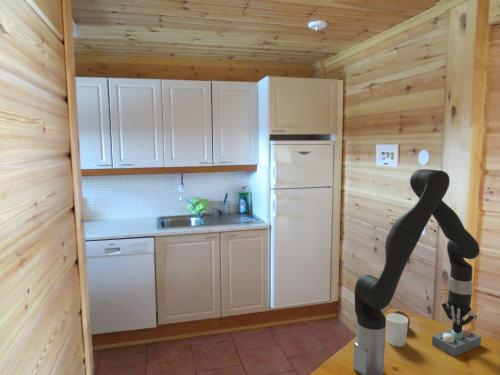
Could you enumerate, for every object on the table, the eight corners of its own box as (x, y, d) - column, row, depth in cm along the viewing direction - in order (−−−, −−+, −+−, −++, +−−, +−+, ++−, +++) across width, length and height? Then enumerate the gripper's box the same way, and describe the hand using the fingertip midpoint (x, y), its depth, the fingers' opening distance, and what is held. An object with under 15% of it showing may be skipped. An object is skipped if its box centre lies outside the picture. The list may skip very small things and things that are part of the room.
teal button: (457, 345, 134) (458, 335, 134) (448, 340, 138) (449, 331, 137) (464, 343, 136) (465, 333, 135) (454, 338, 139) (455, 328, 139)
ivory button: (449, 349, 132) (450, 339, 131) (440, 344, 135) (440, 334, 135) (455, 346, 134) (456, 336, 133) (446, 341, 137) (447, 331, 137)
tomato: (386, 328, 149) (387, 312, 148) (393, 321, 155) (393, 305, 154) (406, 334, 144) (407, 318, 143) (412, 326, 150) (413, 310, 149)
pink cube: (466, 342, 136) (466, 332, 136) (456, 337, 140) (457, 327, 139) (472, 339, 138) (473, 330, 138) (462, 335, 141) (463, 325, 141)
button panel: (454, 356, 129) (454, 347, 129) (431, 344, 137) (432, 335, 137) (480, 345, 136) (481, 336, 136) (458, 334, 144) (458, 326, 144)
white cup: (409, 348, 135) (410, 324, 133) (387, 346, 136) (388, 322, 135) (404, 337, 142) (405, 314, 141) (383, 335, 144) (384, 312, 143)
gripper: (437, 285, 138) (435, 326, 140) (471, 298, 126) (468, 343, 129) (450, 281, 142) (447, 322, 144) (484, 294, 130) (480, 338, 132)
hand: (457, 332), depth 136 cm, fingers closed
